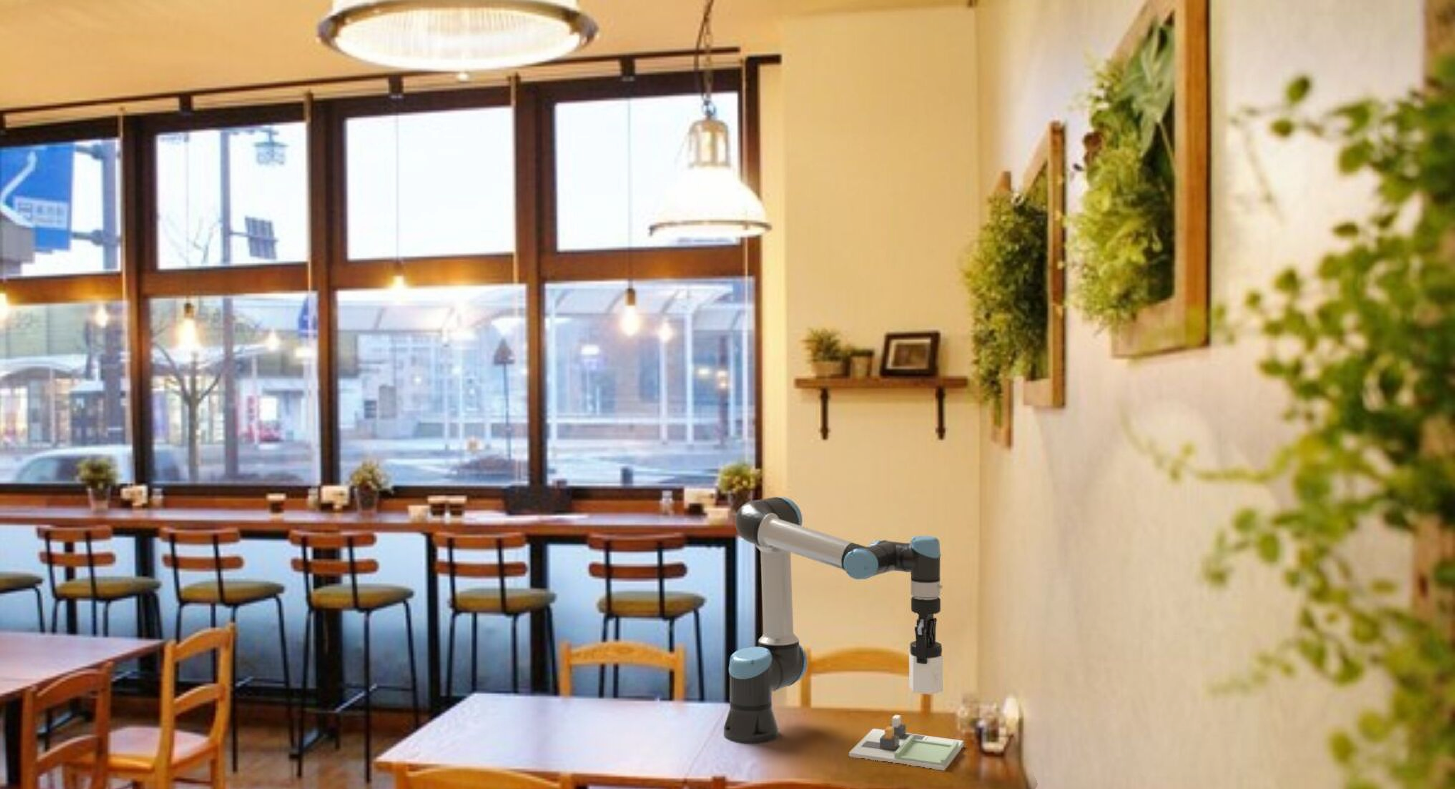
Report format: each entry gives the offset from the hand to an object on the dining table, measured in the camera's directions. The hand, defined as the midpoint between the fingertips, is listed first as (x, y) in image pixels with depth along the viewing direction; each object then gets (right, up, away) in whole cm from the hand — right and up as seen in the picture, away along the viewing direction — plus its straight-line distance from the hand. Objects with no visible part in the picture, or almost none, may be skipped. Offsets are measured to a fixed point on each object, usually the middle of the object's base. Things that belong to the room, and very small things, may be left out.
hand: (926, 686), depth 279 cm
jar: (0, -1, 0) cm, 1 cm away
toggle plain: (-6, -17, +14) cm, 22 cm away
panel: (-4, -19, +5) cm, 20 cm away
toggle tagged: (-9, -17, +4) cm, 20 cm away
